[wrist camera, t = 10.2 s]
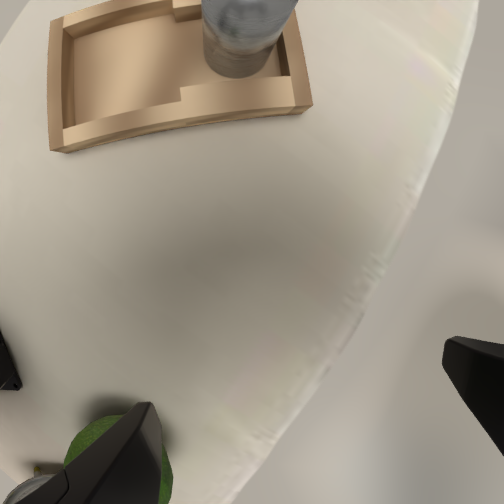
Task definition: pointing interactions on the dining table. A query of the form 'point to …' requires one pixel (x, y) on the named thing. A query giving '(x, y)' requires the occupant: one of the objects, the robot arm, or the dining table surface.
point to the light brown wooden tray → (156, 74)
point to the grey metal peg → (242, 33)
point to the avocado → (97, 430)
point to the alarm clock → (27, 486)
